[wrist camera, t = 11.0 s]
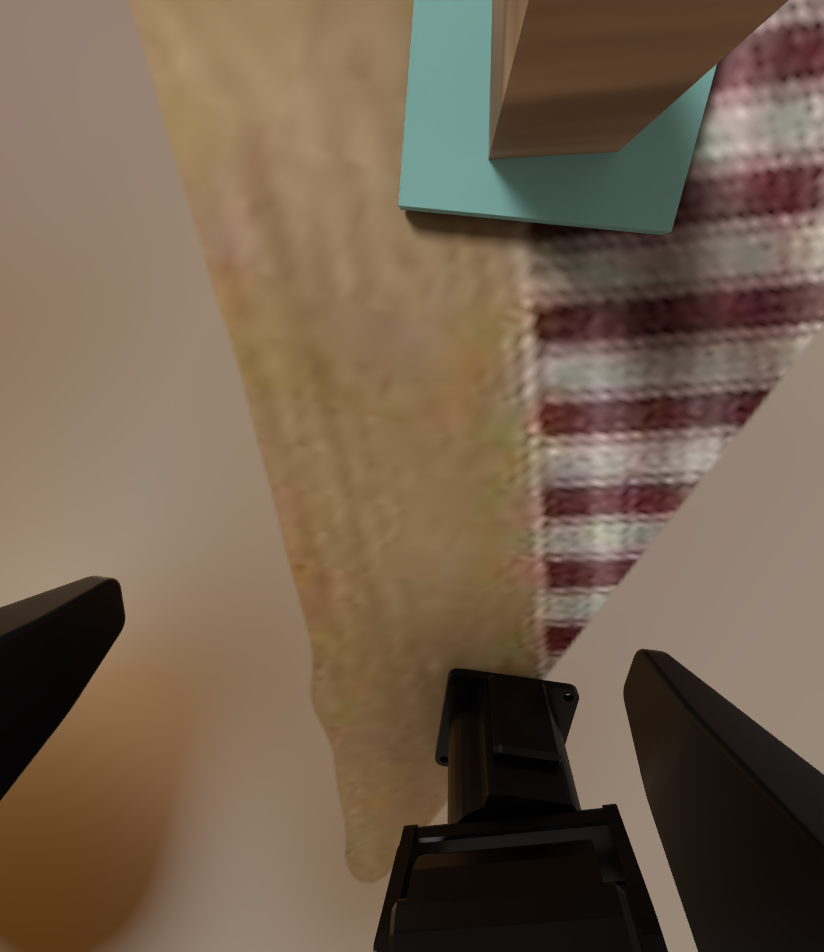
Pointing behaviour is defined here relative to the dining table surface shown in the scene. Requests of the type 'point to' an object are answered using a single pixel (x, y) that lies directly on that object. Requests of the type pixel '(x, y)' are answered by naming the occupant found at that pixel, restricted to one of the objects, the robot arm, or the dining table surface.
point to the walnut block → (601, 67)
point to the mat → (530, 178)
